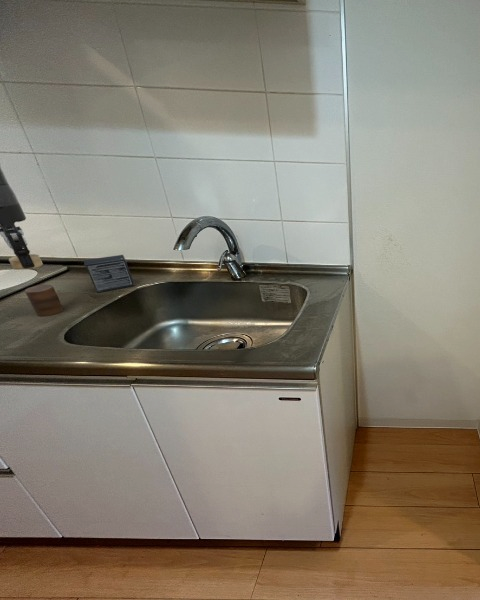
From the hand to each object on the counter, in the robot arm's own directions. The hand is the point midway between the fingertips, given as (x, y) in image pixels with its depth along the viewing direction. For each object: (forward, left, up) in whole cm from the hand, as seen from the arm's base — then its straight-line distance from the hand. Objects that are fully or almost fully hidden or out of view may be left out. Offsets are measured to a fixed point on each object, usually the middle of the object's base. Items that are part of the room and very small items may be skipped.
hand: (27, 264), depth 86 cm
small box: (+6, +19, -15) cm, 25 cm away
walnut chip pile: (0, 0, -15) cm, 15 cm away
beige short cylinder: (0, 0, 0) cm, 1 cm away
